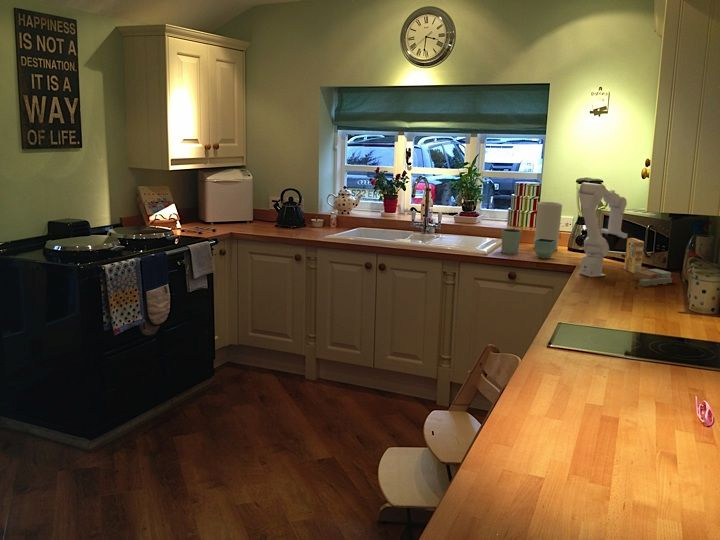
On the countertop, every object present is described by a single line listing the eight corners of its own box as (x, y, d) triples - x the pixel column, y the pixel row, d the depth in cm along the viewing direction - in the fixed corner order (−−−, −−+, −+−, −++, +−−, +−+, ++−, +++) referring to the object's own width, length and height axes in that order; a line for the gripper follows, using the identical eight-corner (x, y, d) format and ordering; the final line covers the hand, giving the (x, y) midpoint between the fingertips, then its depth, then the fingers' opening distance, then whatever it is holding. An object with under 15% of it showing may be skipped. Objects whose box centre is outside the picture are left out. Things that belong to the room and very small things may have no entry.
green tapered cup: (522, 252, 367) (524, 230, 364) (515, 255, 358) (517, 232, 356) (503, 250, 372) (505, 227, 369) (496, 252, 364) (498, 230, 361)
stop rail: (643, 286, 303) (644, 280, 303) (638, 285, 305) (639, 279, 305) (671, 283, 311) (672, 278, 311) (667, 282, 313) (668, 276, 313)
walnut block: (648, 284, 308) (649, 274, 307) (633, 280, 315) (634, 270, 314) (657, 283, 311) (658, 273, 310) (642, 279, 318) (644, 270, 317)
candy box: (640, 273, 329) (645, 241, 326) (632, 273, 329) (636, 241, 325) (631, 269, 338) (635, 238, 335) (623, 269, 337) (627, 237, 334)
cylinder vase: (532, 246, 387) (536, 201, 381) (555, 247, 386) (560, 202, 380) (535, 250, 375) (540, 204, 369) (559, 252, 373) (564, 205, 368)
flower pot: (532, 257, 355) (534, 240, 353) (538, 255, 363) (539, 238, 361) (549, 260, 351) (551, 242, 349) (554, 257, 358) (556, 240, 356)
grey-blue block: (661, 283, 312) (662, 273, 311) (646, 279, 319) (647, 269, 318) (669, 282, 315) (671, 272, 314) (654, 278, 322) (656, 268, 321)
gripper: (633, 224, 322) (629, 253, 325) (609, 219, 335) (606, 247, 338) (622, 224, 319) (618, 253, 322) (598, 219, 331) (595, 247, 334)
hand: (611, 250), depth 330 cm, fingers closed
